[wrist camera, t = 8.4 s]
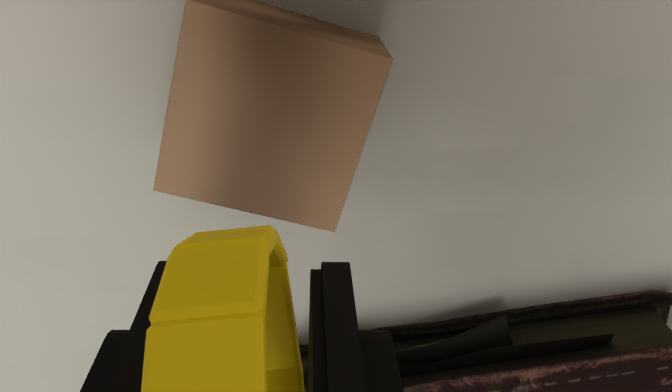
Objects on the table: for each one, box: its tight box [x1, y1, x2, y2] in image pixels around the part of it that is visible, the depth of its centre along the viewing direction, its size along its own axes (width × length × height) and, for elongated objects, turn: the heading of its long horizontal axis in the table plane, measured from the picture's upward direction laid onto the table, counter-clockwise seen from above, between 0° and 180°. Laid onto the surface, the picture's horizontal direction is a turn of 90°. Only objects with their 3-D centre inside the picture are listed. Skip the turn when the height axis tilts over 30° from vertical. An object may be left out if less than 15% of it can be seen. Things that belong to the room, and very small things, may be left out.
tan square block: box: [153, 0, 393, 232], centre depth 22 cm, size 7×7×4 cm
